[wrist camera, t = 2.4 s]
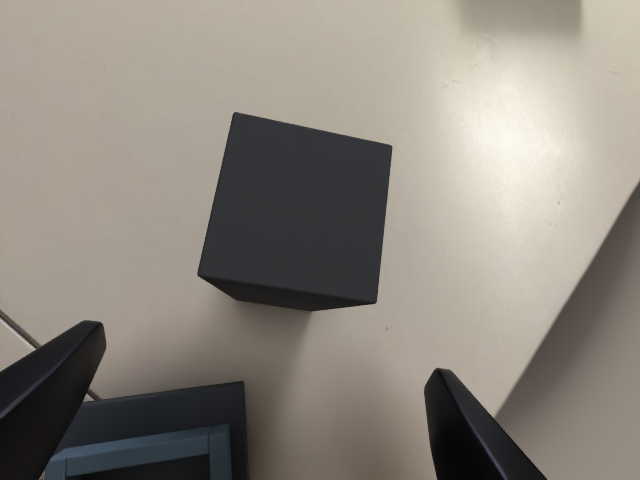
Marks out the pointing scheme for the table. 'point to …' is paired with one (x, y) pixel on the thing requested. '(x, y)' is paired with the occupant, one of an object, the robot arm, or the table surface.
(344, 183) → the dark grey square block
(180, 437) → the base pad
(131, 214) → the table surface
